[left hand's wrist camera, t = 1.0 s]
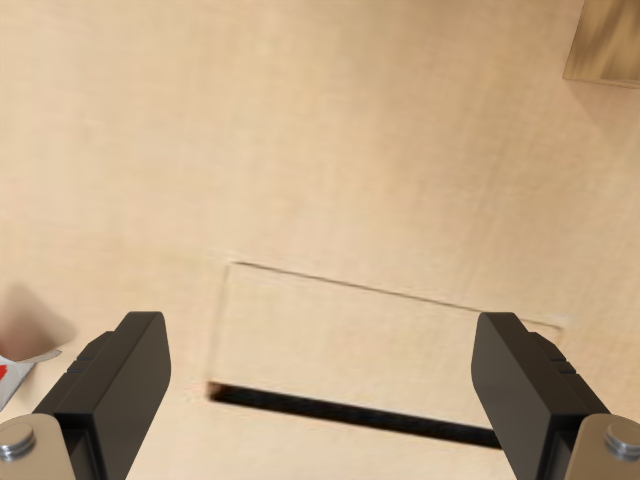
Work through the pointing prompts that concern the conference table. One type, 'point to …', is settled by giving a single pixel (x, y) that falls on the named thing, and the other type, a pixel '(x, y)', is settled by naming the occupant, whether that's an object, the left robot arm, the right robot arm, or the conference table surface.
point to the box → (607, 44)
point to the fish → (17, 374)
